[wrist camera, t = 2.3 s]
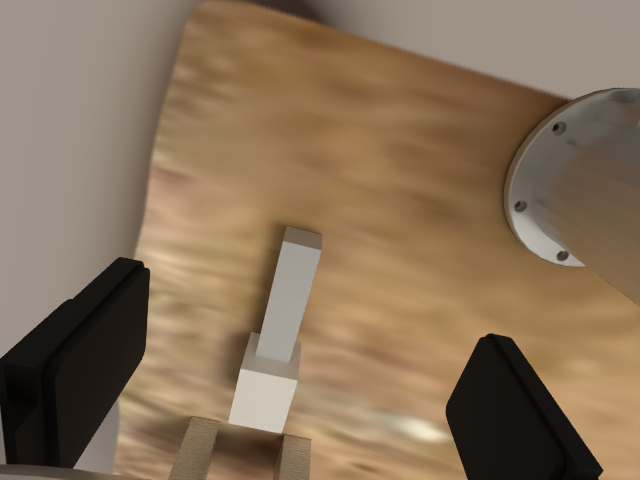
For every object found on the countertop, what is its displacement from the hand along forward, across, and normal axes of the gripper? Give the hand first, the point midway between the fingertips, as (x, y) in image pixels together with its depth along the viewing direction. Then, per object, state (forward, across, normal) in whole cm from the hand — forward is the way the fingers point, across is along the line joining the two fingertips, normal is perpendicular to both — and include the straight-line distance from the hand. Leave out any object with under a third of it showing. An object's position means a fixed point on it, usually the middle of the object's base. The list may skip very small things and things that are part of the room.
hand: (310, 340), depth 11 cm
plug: (+19, 0, +13) cm, 23 cm away
